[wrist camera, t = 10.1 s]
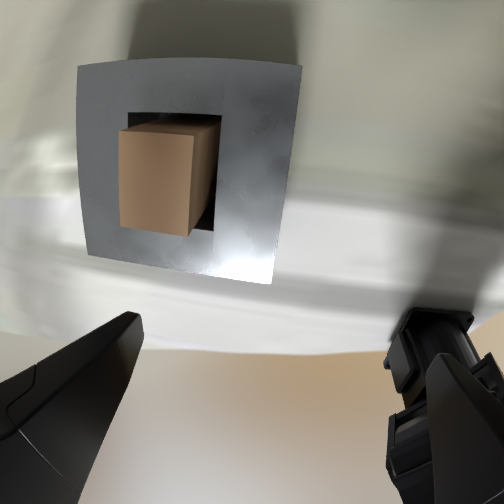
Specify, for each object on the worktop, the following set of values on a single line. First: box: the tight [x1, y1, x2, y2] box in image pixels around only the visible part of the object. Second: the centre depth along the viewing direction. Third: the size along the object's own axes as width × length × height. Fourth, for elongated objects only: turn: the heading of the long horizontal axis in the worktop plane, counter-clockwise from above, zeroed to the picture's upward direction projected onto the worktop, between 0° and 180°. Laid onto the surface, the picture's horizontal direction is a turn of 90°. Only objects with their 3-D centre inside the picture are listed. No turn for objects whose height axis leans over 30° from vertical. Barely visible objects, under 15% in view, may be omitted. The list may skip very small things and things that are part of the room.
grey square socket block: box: [76, 57, 302, 284], centre depth 15 cm, size 10×10×5 cm
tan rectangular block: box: [119, 114, 222, 237], centre depth 15 cm, size 3×4×7 cm
